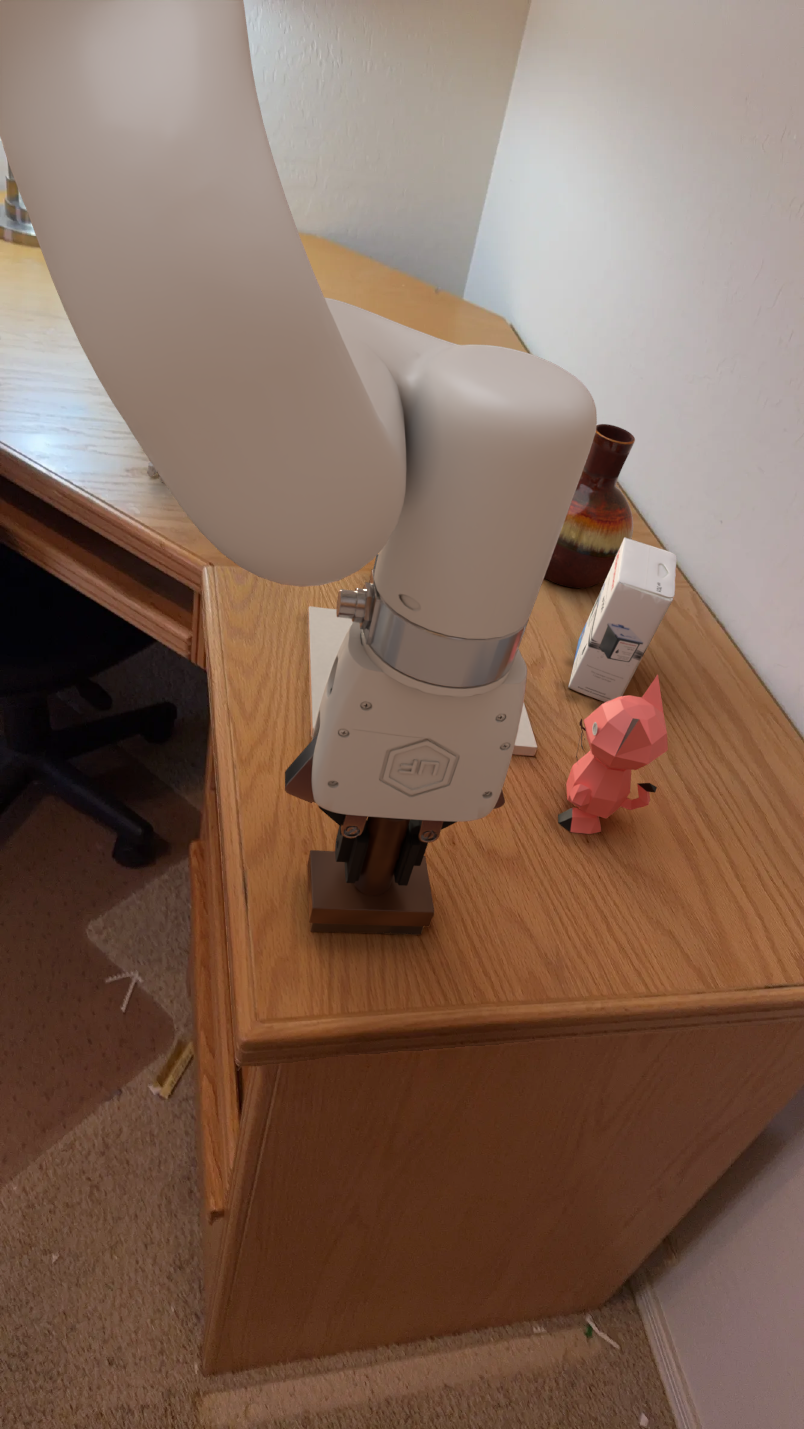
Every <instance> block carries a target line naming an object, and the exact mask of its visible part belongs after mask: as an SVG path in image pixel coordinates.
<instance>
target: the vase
mask: <svg viewBox="0 0 804 1429" xmlns="http://www.w3.org/2000/svg"><path fill="white" fill-rule="evenodd" d="M635 442H636V439H635V436H634V435H633V434H632V433H631V432H630V431H628V430H627V429H624V428H623V427H619V426H616V425H613V424H608V423H599V424H597V425H596V432H595V436H594V439H593V442H592V445H591V449H590V452H589V455H588V457H587V460H586V463H585V466H584V469H583V471H582V474H581V477H580V480H579V482H578V485H577V488H576V491H575V493H574V496H573V499H572V502H571V505H570V507H569V510H568V513H567V516H566V518H565V521H564V524H563V527H562V529H561V532H560V535H559V538H558V541H557V543H556V546H555V549H554V552H553V554H552V557H551V560H550V563H549V565H548V568H547V571H546V574H545V576H544V579H545V580H547V581H550V582H552V583H554V584H557V585H559V586H563V587H567V588H573V589H585V588H590V587H594V586H595V585H598V584H600V583H602V582H603V581H605V580H606V578H607V576H608V573H609V571H610V569H611V567H612V564H613V562H614V560H615V557H616V555H617V553H618V551H619V549H620V546H621V544H622V542H623V540H624V538H628V539H632V540H633V535H634V518H633V512H632V509H631V506H630V504H629V502H628V500H627V498H626V496H625V495H624V493H623V492H622V490H621V489H620V488H619V487H618V486H617V482H618V479H619V476H620V474H621V472H622V469H623V467H624V465H625V463H626V461H627V459H628V456H629V455H630V453H631V451H632V448H633V446H634V444H635Z"/></svg>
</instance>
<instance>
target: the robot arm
mask: <svg viewBox="0 0 804 1429" xmlns="http://www.w3.org/2000/svg"><path fill="white" fill-rule="evenodd" d="M245 8H246V7H245V2H244V0H0V141H1V144H2V147H3V151H4V154H5V157H6V160H7V163H8V165H9V169H10V171H11V173H12V176H13V179H14V181H15V184H16V187H17V189H18V192H19V194H20V197H21V200H22V202H23V205H24V207H25V209H26V212H27V216H28V217H29V220H30V223H31V226H32V229H33V232H34V235H35V237H36V240H37V242H38V245H39V248H40V251H41V254H42V256H43V258H44V261H45V264H46V267H47V270H48V272H49V275H50V278H51V281H52V283H53V285H54V288H55V290H56V292H57V296H58V297H59V300H60V303H61V305H62V307H63V310H64V312H65V314H66V317H67V318H68V320H69V323H70V325H71V327H72V329H73V331H74V333H75V336H76V338H77V341H78V343H79V344H80V346H81V348H82V350H83V352H84V354H85V357H86V358H87V360H88V362H89V364H90V366H91V367H92V369H93V372H94V373H95V375H96V377H97V379H98V380H99V382H100V384H101V386H102V387H103V389H104V391H105V392H106V394H107V395H108V396H107V397H109V399H110V401H111V403H112V404H113V406H114V407H115V409H116V410H117V412H118V413H119V415H120V417H121V418H122V420H123V421H124V422H125V424H126V425H127V427H128V429H129V431H130V432H131V434H132V436H133V437H134V439H135V440H136V442H137V443H138V444H139V446H140V448H141V449H142V451H143V452H144V454H145V455H146V457H147V458H148V460H149V461H150V462H151V463H152V465H153V466H154V468H155V469H156V471H157V472H156V473H157V474H158V475H159V477H161V478H162V480H163V482H162V483H164V484H165V486H166V488H167V489H168V490H169V492H170V494H171V496H172V497H173V498H174V499H175V501H176V502H177V504H178V505H179V507H180V508H181V509H182V510H183V512H184V513H185V515H186V516H187V517H188V519H189V520H190V521H191V523H193V526H195V528H197V530H198V531H199V532H200V533H201V534H202V536H204V537H205V538H206V539H207V541H209V542H210V543H211V544H212V545H213V546H214V547H215V549H217V550H218V551H219V552H220V553H221V554H222V555H224V556H225V557H226V558H228V559H229V560H230V561H231V562H233V563H234V564H236V565H237V566H238V567H239V568H241V569H243V570H244V571H246V572H248V573H250V574H253V575H254V576H256V577H259V578H261V579H263V580H266V581H268V582H269V581H270V582H273V583H276V584H278V585H283V586H284V585H285V586H291V587H299V588H300V587H302V588H303V587H318V586H324V585H327V584H332V583H335V582H340V581H341V580H343V579H345V578H348V577H350V576H351V575H353V574H355V573H357V572H359V571H360V570H361V569H363V568H364V567H365V566H366V565H368V564H369V563H370V562H372V561H373V560H374V559H376V555H377V554H378V559H377V564H376V568H375V569H373V568H372V569H371V571H370V574H369V581H367V582H364V584H363V588H359V587H355V588H354V590H353V589H344V588H339V590H338V593H337V598H336V608H335V609H336V614H337V617H339V618H348V619H352V624H351V626H350V628H349V630H348V632H347V633H346V636H345V638H344V640H343V642H342V644H341V646H340V649H339V651H338V653H337V656H336V658H335V661H334V663H333V666H332V669H331V672H330V675H329V678H328V681H327V683H326V687H325V690H324V693H323V696H322V700H321V703H320V707H319V710H318V714H317V718H316V722H315V726H314V732H313V738H312V737H311V738H312V739H311V741H310V742H309V743H308V744H307V745H306V747H305V748H304V749H303V750H302V751H301V752H300V753H299V755H298V756H297V757H296V758H295V759H294V760H293V761H292V763H291V764H290V765H289V766H288V767H287V768H286V769H285V771H284V791H285V793H286V794H288V795H290V796H293V797H294V798H297V799H299V800H303V801H305V802H307V803H310V804H313V803H314V804H316V805H317V806H318V808H319V810H320V811H322V812H323V813H325V815H327V817H329V818H330V819H331V820H332V821H333V822H334V823H336V825H338V829H337V834H336V838H335V843H334V851H335V859H336V862H345V878H346V883H355V881H358V880H359V877H360V873H361V870H362V866H363V862H364V859H365V855H366V851H367V848H368V842H369V838H368V830H367V819H368V816H370V817H384V818H398V819H410V822H409V826H408V829H407V832H406V836H405V839H404V842H403V845H402V849H401V852H400V855H399V859H398V862H397V865H396V868H395V872H394V878H395V883H398V885H403V886H407V885H408V882H409V879H410V876H411V873H412V870H413V867H414V866H420V865H421V863H422V860H423V857H424V856H425V853H426V851H427V849H428V848H427V847H428V845H429V843H433V842H436V841H437V840H438V839H439V838H440V835H441V831H442V830H444V829H446V828H448V827H450V826H452V825H454V824H457V823H458V822H462V823H463V822H472V821H478V820H481V819H483V818H485V817H487V816H489V815H490V814H491V813H492V811H494V810H495V809H499V808H502V807H504V805H505V804H506V799H505V794H504V791H503V787H504V784H505V781H506V779H507V775H508V771H509V768H510V765H511V761H512V757H513V754H512V753H513V750H514V745H515V741H516V737H517V733H518V728H519V723H520V718H521V713H522V708H523V702H524V701H525V694H526V689H527V688H526V687H527V679H528V678H527V677H528V667H527V664H526V661H525V659H524V657H523V655H522V653H521V651H520V645H521V643H522V640H523V637H524V634H525V632H526V629H527V626H528V623H529V621H530V618H531V616H532V613H533V609H534V607H535V604H536V602H537V599H538V596H539V593H540V590H541V588H542V584H543V582H544V579H545V578H544V576H545V574H546V571H547V568H548V565H549V563H550V560H551V557H552V554H553V552H554V549H555V546H556V543H557V541H558V538H559V535H560V532H561V529H562V527H563V524H564V521H565V518H566V516H567V513H568V510H569V507H570V505H571V502H572V499H573V496H574V493H575V491H576V488H577V485H578V482H579V480H580V477H581V474H582V471H583V469H584V466H585V463H586V460H587V457H588V455H589V452H590V449H591V445H592V442H593V439H594V436H595V432H596V425H598V416H597V415H598V414H597V406H596V403H595V400H594V397H593V395H592V393H591V391H589V389H588V388H587V386H586V385H585V383H584V382H582V380H580V379H579V378H578V377H576V376H575V375H574V374H572V373H571V372H569V371H568V370H566V369H564V367H562V366H559V365H557V364H555V362H552V361H550V360H547V359H545V358H543V357H540V356H539V355H538V356H537V355H536V354H535V355H534V354H532V353H530V352H529V353H528V352H525V351H522V350H518V349H514V348H510V347H504V346H499V345H490V344H458V343H454V342H451V341H448V340H444V339H442V338H439V337H436V336H434V335H431V334H429V333H426V332H423V331H420V330H417V329H415V328H412V327H410V326H407V325H404V324H402V323H399V322H397V321H394V320H392V319H390V318H387V317H385V316H382V315H380V314H377V313H375V312H373V311H370V310H367V309H365V308H362V307H359V306H356V305H353V304H351V303H348V302H345V301H341V300H339V299H335V298H330V297H325V296H324V293H323V290H322V289H321V287H320V284H319V282H318V279H317V277H316V275H315V272H314V269H313V267H312V264H311V262H310V259H309V256H308V254H307V252H306V249H305V246H304V244H303V241H302V239H301V236H300V233H299V231H298V228H297V225H296V222H295V220H294V216H293V214H292V211H291V208H290V206H289V202H288V199H287V197H286V194H285V191H284V188H283V185H282V181H281V178H280V176H279V172H278V169H277V166H276V162H275V160H274V156H273V152H272V150H271V146H270V141H269V138H268V134H267V132H266V128H265V124H264V123H265V122H264V120H263V115H262V110H261V107H260V102H259V97H258V93H257V88H256V82H255V76H254V71H253V64H252V58H251V56H252V55H251V50H250V40H249V34H248V24H247V17H246V10H245ZM524 703H525V702H524Z"/></svg>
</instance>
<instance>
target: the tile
mask: <svg viewBox="0 0 804 1429" xmlns="http://www.w3.org/2000/svg"><path fill="white" fill-rule="evenodd" d="M307 608H308V609H307V613H306V614H307V616H306V618H307V619H306V620H307V648H308V653H307V654H308V683H309V685H308V686H309V715H310V721H309V722H310V737H311V738H313V732H314V726H315V722H316V718H317V714H318V710H319V707H320V703H321V700H322V696H323V693H324V690H325V687H326V683H327V681H328V678H329V675H330V672H331V669H332V666H333V663H334V661H335V658H336V656H337V653H338V651H339V649H340V646H341V644H342V642H343V640H344V638H345V636H346V633H347V632H348V630H349V628H350V626H351V624H352V619H348V618H339V617H337V614H336V609H337V608H329V607H328V608H327V607H318V606H312V605H311V606H310V605H308V607H307ZM537 750H538V744H537V740H536V738H535V734H534V732H533V728H532V725H531V721H530V718H529V715H528V711H527V708H526V705H525V702H523V708H522V713H521V718H520V723H519V728H518V733H517V737H516V741H515V745H514V750H513V753H512V755H516V756H527V757H528V756H530V757H535V755H536V752H537Z"/></svg>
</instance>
